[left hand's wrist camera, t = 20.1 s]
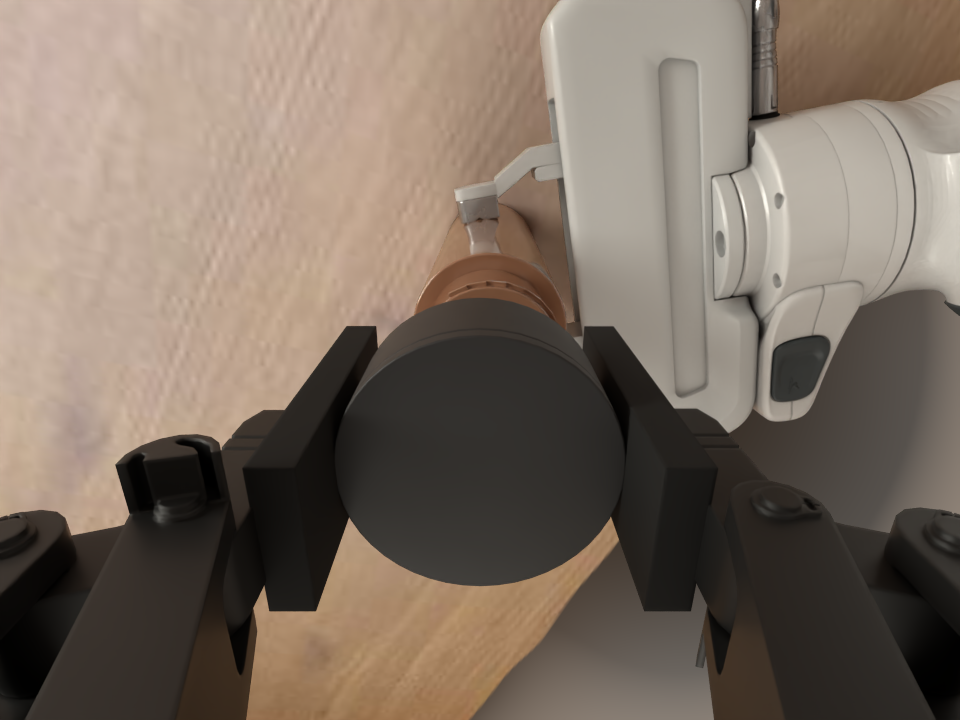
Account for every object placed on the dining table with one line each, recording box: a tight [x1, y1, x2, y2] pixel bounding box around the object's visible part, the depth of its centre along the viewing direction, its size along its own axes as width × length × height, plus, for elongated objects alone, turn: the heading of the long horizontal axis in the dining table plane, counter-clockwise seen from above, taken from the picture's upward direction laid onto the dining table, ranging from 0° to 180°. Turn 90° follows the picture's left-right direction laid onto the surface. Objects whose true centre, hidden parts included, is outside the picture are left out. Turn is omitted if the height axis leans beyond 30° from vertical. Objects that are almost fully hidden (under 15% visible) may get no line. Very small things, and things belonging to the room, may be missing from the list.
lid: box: [334, 298, 626, 586], centre depth 11 cm, size 5×5×2 cm
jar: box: [414, 204, 567, 330], centre depth 23 cm, size 5×5×17 cm
